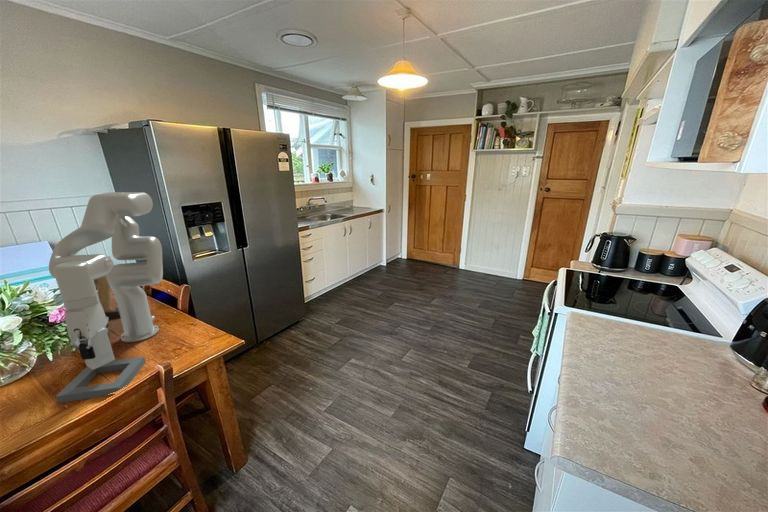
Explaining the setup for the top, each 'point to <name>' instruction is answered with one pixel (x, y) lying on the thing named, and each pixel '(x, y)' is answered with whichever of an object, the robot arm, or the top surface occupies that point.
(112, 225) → the robot arm
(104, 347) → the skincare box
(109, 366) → the socket block
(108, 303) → the hammer
